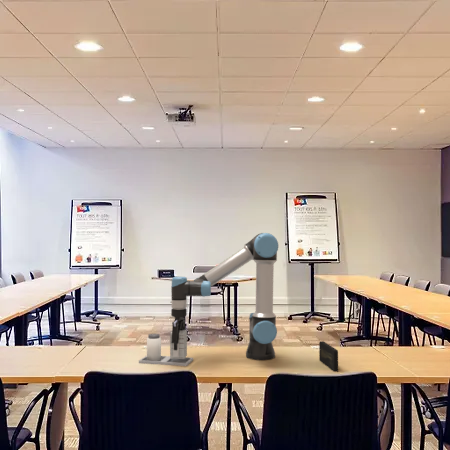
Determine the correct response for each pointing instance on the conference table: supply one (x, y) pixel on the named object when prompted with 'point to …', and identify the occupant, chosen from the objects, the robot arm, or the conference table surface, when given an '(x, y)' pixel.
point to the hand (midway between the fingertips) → (178, 354)
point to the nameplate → (328, 355)
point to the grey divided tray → (168, 361)
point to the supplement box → (180, 345)
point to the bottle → (154, 347)
